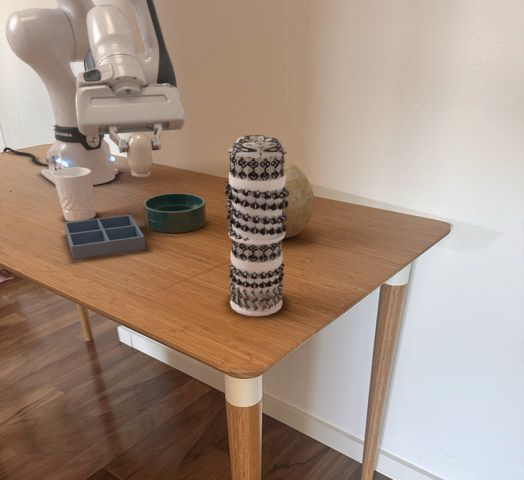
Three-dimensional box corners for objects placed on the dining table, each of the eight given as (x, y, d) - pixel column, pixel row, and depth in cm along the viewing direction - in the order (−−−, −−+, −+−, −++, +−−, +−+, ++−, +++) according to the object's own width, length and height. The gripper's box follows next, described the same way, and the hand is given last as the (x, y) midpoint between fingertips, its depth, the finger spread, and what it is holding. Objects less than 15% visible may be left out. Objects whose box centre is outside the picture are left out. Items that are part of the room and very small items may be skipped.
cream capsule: (123, 173, 97) (120, 131, 93) (143, 170, 100) (142, 129, 96) (137, 179, 95) (135, 136, 91) (158, 176, 98) (157, 134, 94)
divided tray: (66, 236, 103) (63, 222, 102) (132, 228, 108) (130, 214, 106) (74, 261, 93) (71, 246, 91) (146, 251, 98) (144, 236, 96)
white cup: (54, 220, 111) (44, 174, 105) (77, 209, 117) (68, 165, 112) (84, 225, 109) (75, 178, 103) (105, 214, 115) (98, 169, 109)
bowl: (134, 225, 109) (130, 202, 107) (180, 210, 117) (178, 189, 115) (171, 240, 102) (169, 216, 99) (218, 224, 110) (217, 202, 108)
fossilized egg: (242, 229, 108) (242, 157, 100) (296, 222, 112) (300, 152, 103) (264, 251, 98) (265, 173, 90) (322, 243, 102) (328, 167, 94)
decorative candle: (218, 311, 79) (211, 142, 65) (241, 286, 86) (239, 129, 72) (272, 322, 76) (277, 149, 62) (291, 295, 83) (300, 135, 69)
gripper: (174, 94, 103) (191, 154, 101) (70, 98, 96) (85, 163, 94) (178, 71, 97) (196, 135, 95) (67, 74, 90) (84, 143, 88)
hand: (140, 149), depth 94 cm, fingers closed on cream capsule, 5 cm apart
